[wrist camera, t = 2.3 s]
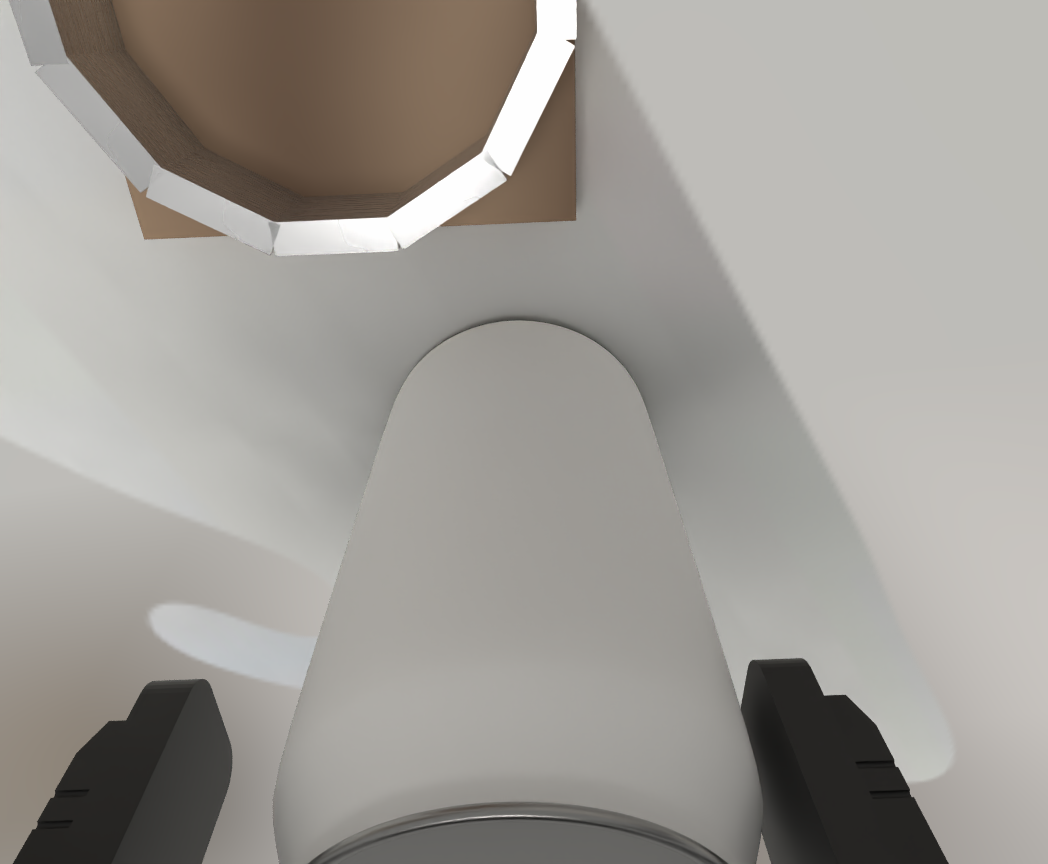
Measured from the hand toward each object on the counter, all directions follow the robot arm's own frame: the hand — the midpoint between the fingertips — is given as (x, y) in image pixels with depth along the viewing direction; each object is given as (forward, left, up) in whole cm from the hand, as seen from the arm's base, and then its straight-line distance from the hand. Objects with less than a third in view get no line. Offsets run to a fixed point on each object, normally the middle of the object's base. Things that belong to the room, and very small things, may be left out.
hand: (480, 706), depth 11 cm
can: (-1, 0, -9) cm, 9 cm away
